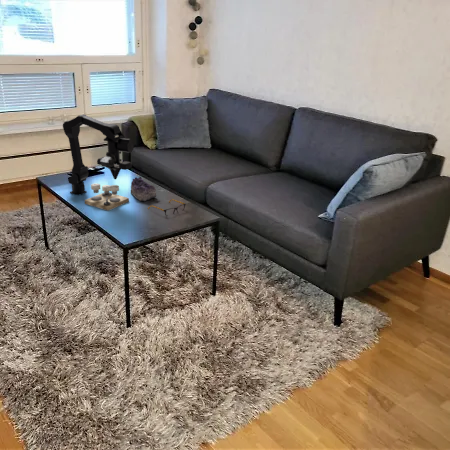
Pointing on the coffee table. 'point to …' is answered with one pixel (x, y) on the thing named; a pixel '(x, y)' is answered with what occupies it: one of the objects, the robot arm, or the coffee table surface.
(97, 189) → the knob
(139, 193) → the geode
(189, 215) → the coffee table surface
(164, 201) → the coffee table surface
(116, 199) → the panel
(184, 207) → the eyeglasses
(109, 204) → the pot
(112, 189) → the knob
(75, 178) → the robot arm
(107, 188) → the knob
